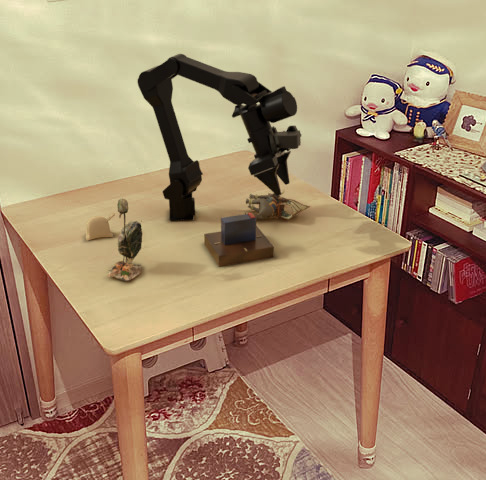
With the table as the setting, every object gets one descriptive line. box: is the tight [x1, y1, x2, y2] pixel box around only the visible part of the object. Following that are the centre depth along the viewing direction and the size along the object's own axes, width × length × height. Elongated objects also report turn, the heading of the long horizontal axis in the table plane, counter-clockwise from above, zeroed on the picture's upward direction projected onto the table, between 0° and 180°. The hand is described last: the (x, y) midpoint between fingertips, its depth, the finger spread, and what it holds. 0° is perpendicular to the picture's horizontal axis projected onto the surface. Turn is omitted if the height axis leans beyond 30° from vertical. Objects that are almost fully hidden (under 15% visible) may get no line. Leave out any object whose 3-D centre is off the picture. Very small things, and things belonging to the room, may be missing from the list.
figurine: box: [244, 188, 311, 221], centre depth 192 cm, size 20×6×17 cm
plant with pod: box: [106, 198, 143, 282], centre depth 165 cm, size 8×11×20 cm
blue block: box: [220, 212, 257, 245], centre depth 174 cm, size 8×3×6 cm, turn 107°
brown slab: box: [203, 225, 275, 267], centre depth 177 cm, size 14×12×3 cm
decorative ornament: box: [85, 213, 116, 241], centre depth 185 cm, size 4×8×5 cm, turn 106°
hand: (283, 189), depth 174 cm, fingers open, 9 cm apart
